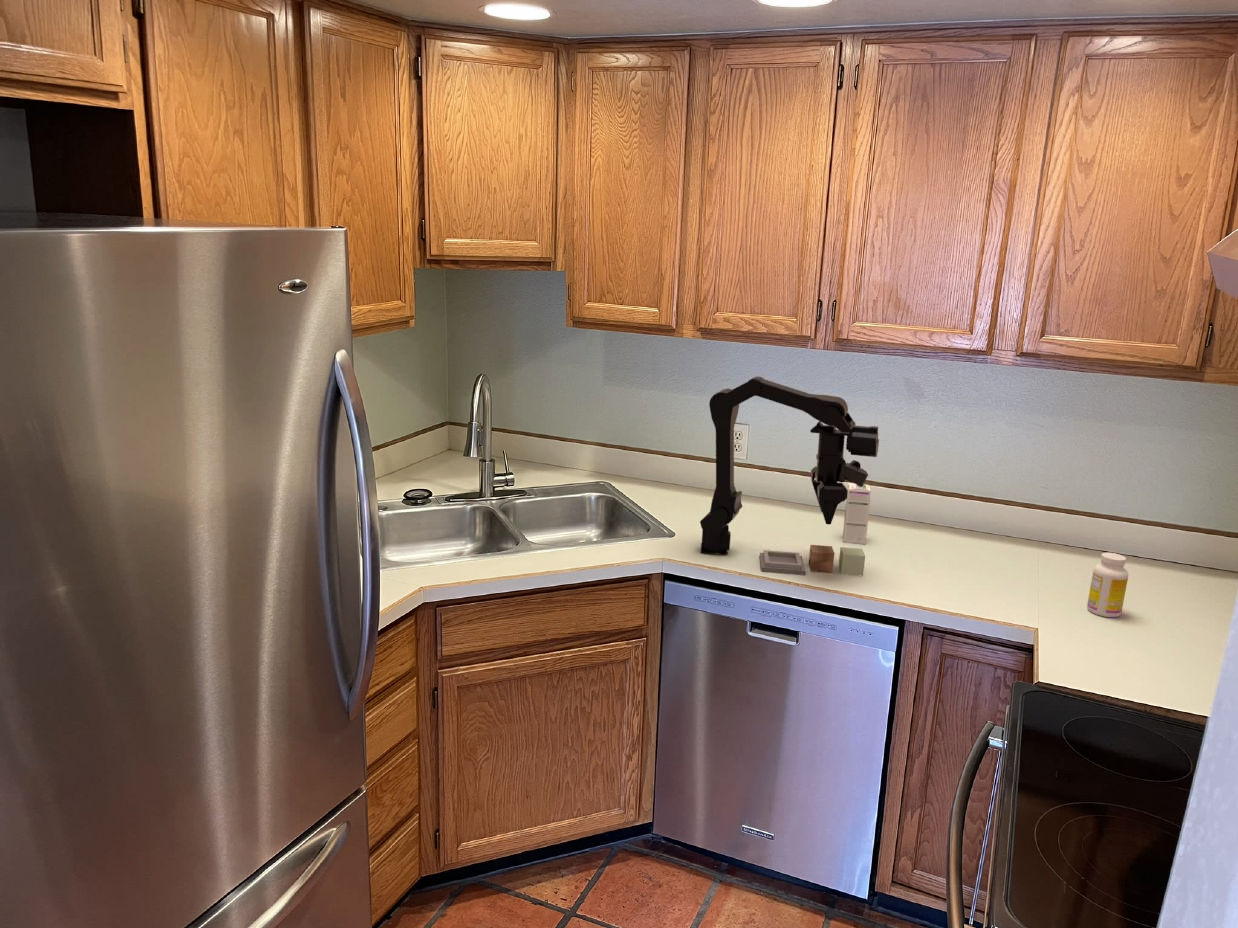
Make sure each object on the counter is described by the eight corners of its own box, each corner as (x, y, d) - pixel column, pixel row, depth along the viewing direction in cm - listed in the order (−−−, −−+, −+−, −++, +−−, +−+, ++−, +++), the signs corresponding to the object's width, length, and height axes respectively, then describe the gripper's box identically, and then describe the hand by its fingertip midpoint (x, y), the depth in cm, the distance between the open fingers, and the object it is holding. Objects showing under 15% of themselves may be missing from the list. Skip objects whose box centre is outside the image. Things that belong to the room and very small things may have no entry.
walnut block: (810, 572, 213) (812, 551, 212) (808, 564, 218) (810, 544, 216) (832, 573, 212) (834, 553, 211) (829, 566, 217) (831, 546, 216)
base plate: (761, 571, 212) (762, 563, 211) (759, 556, 221) (760, 548, 221) (805, 574, 211) (805, 566, 210) (801, 559, 220) (802, 551, 220)
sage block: (841, 574, 212) (843, 554, 211) (838, 566, 217) (840, 546, 216) (862, 576, 212) (865, 555, 211) (859, 568, 217) (862, 548, 215)
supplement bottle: (1124, 612, 198) (1135, 556, 194) (1116, 621, 193) (1127, 564, 190) (1091, 603, 202) (1101, 548, 199) (1082, 611, 197) (1092, 555, 194)
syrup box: (865, 544, 233) (872, 490, 229) (842, 542, 234) (848, 487, 230) (864, 537, 238) (871, 484, 235) (841, 535, 240) (847, 481, 236)
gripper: (873, 464, 198) (867, 532, 202) (860, 444, 216) (855, 507, 220) (821, 462, 199) (816, 530, 203) (812, 443, 217) (808, 506, 221)
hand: (825, 518), depth 212 cm, fingers open, 9 cm apart
